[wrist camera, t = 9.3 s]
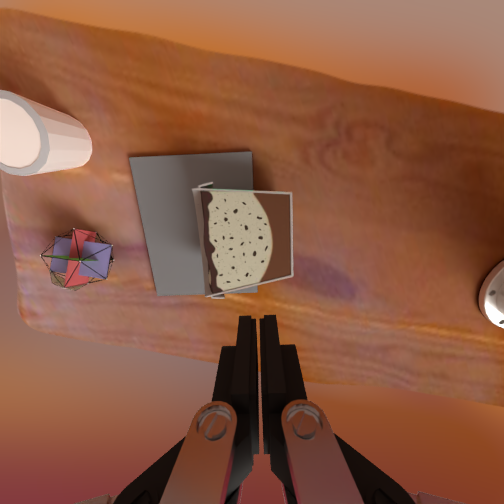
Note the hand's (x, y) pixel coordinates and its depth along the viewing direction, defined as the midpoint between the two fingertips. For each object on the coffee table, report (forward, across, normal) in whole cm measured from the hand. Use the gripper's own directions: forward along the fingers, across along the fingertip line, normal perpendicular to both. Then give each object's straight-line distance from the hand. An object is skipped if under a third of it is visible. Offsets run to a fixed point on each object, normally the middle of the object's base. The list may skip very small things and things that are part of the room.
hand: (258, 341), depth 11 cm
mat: (+21, +7, 0) cm, 22 cm away
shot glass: (+21, +21, -11) cm, 32 cm away
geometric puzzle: (+21, +21, +2) cm, 30 cm away
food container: (+19, -3, 0) cm, 19 cm away
